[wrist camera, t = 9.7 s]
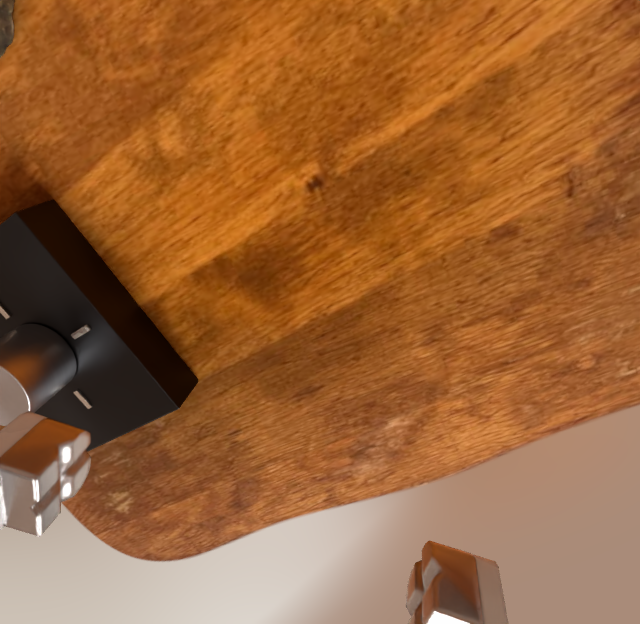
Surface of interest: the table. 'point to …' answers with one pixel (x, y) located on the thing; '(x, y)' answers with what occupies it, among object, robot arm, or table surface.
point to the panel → (87, 327)
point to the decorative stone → (6, 24)
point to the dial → (32, 369)
